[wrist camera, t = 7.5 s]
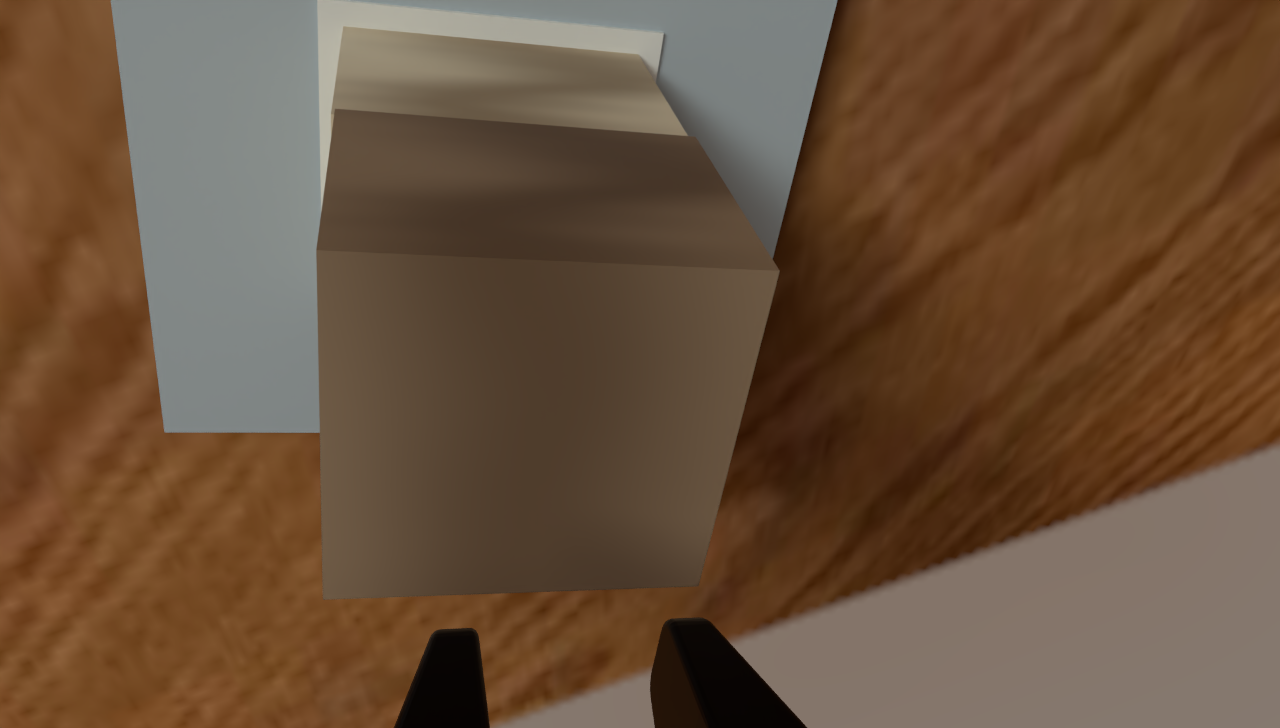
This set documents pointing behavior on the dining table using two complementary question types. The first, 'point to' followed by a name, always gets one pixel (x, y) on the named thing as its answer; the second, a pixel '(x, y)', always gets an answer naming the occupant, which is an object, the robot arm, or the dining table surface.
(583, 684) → the dining table surface
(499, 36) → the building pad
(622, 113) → the maple block
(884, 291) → the dining table surface
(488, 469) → the walnut block
